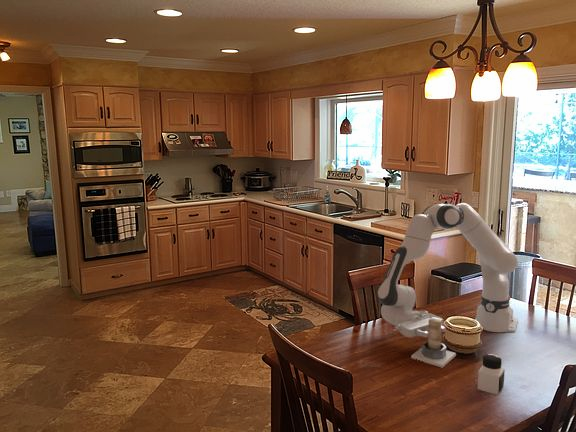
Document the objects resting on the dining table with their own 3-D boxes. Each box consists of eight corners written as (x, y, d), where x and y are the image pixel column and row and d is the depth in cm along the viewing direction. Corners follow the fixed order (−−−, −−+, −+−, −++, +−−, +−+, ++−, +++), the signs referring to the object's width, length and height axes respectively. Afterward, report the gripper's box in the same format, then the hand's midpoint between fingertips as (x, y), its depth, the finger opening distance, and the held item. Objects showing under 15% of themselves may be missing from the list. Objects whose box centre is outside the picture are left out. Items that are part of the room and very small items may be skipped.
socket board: (425, 347, 204) (426, 336, 203) (455, 355, 195) (456, 344, 194) (411, 358, 194) (411, 346, 193) (442, 367, 185) (442, 356, 185)
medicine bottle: (498, 395, 165) (500, 363, 163) (477, 389, 169) (478, 357, 167) (503, 386, 171) (505, 355, 169) (483, 381, 175) (484, 350, 173)
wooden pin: (430, 350, 198) (431, 318, 196) (442, 353, 195) (443, 320, 192) (425, 354, 194) (426, 321, 192) (437, 358, 191) (438, 324, 189)
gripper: (392, 319, 198) (417, 331, 186) (428, 309, 208) (453, 319, 196) (392, 334, 199) (417, 346, 187) (427, 323, 209) (453, 334, 197)
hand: (436, 332), depth 192 cm, fingers open, 8 cm apart
